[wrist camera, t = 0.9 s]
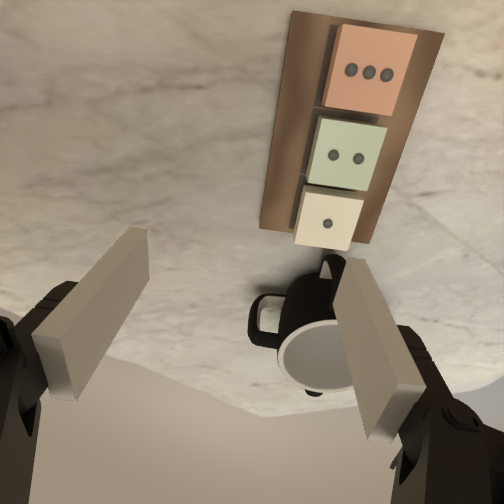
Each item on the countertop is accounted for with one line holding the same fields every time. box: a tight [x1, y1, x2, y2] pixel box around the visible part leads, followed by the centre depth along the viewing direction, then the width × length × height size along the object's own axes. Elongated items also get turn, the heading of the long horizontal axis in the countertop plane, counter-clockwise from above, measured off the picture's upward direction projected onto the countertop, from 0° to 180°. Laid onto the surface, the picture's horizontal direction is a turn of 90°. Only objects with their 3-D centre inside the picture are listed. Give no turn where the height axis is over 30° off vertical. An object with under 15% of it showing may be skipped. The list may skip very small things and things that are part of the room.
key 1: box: [293, 185, 364, 251], centre depth 34 cm, size 6×6×3 cm
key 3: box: [321, 24, 418, 116], centre depth 27 cm, size 6×6×3 cm
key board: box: [259, 11, 445, 244], centre depth 35 cm, size 14×22×2 cm, turn 173°
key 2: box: [306, 115, 387, 191], centre depth 31 cm, size 6×6×3 cm
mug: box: [248, 254, 354, 397], centre depth 41 cm, size 16×16×12 cm
